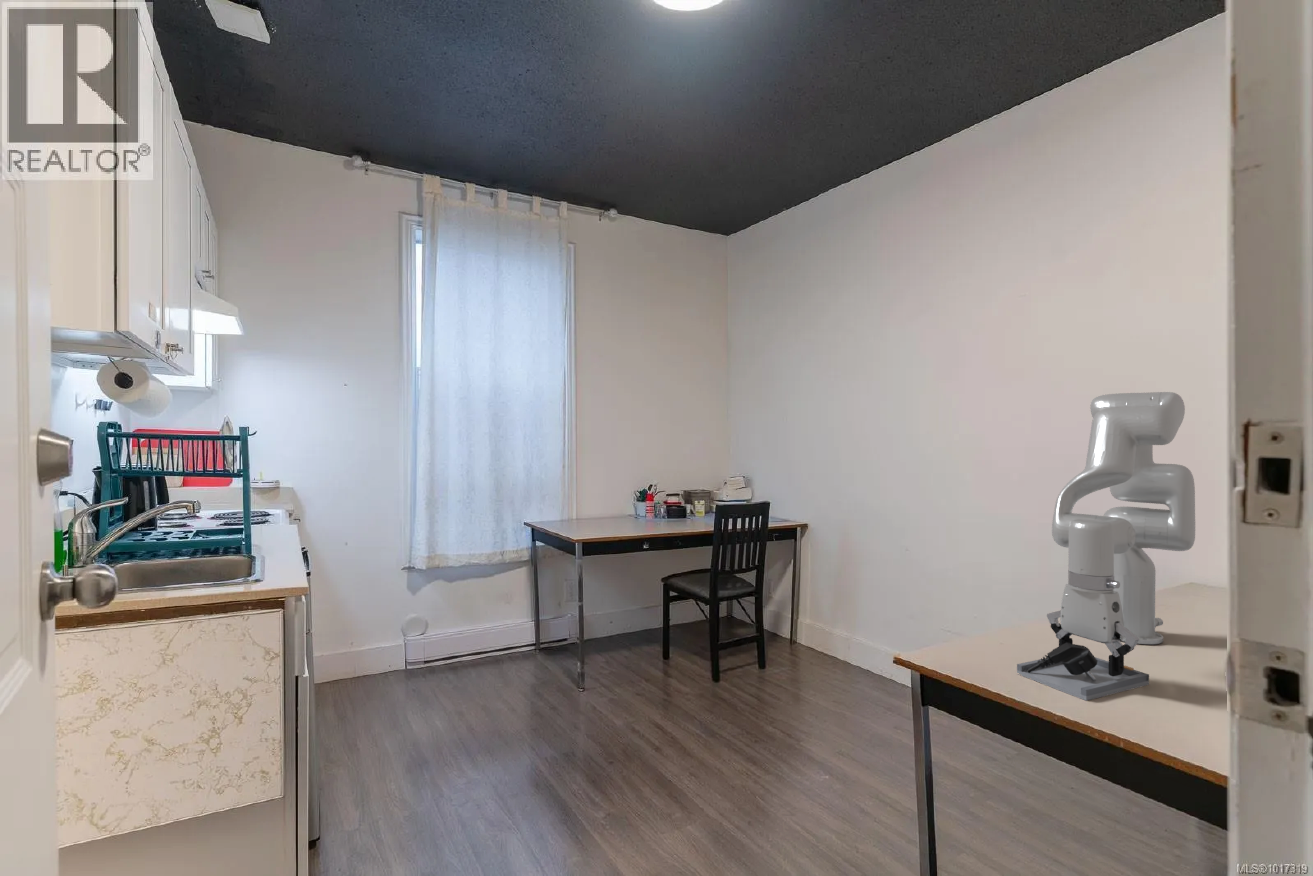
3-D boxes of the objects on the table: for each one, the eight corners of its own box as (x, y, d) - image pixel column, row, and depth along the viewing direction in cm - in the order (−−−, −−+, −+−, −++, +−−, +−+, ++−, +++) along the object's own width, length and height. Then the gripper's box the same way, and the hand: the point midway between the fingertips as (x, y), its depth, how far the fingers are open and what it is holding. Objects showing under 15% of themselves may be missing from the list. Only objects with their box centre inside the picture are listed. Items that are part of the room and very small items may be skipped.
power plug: (1021, 663, 131) (1075, 633, 128) (1044, 694, 129) (1099, 666, 127) (1029, 673, 125) (1085, 642, 122) (1053, 706, 124) (1111, 676, 121)
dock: (1077, 660, 137) (1077, 650, 137) (1148, 684, 124) (1148, 673, 124) (1016, 673, 129) (1017, 662, 129) (1086, 700, 116) (1086, 688, 116)
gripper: (1150, 589, 119) (1149, 679, 119) (1060, 571, 135) (1060, 650, 135) (1125, 593, 116) (1124, 685, 116) (1036, 574, 132) (1036, 654, 132)
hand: (1089, 666), depth 126 cm, fingers open, 9 cm apart
